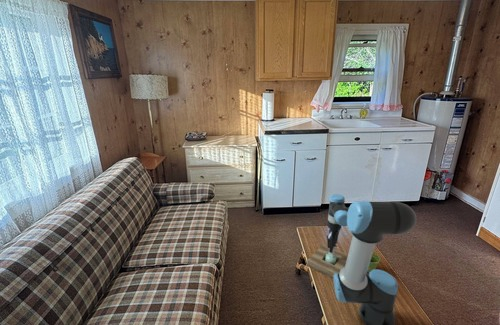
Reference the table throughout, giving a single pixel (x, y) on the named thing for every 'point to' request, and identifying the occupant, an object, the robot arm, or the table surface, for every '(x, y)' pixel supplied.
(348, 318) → the table surface
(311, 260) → the dock
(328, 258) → the pale mint egg
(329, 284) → the table surface
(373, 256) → the plant pot
